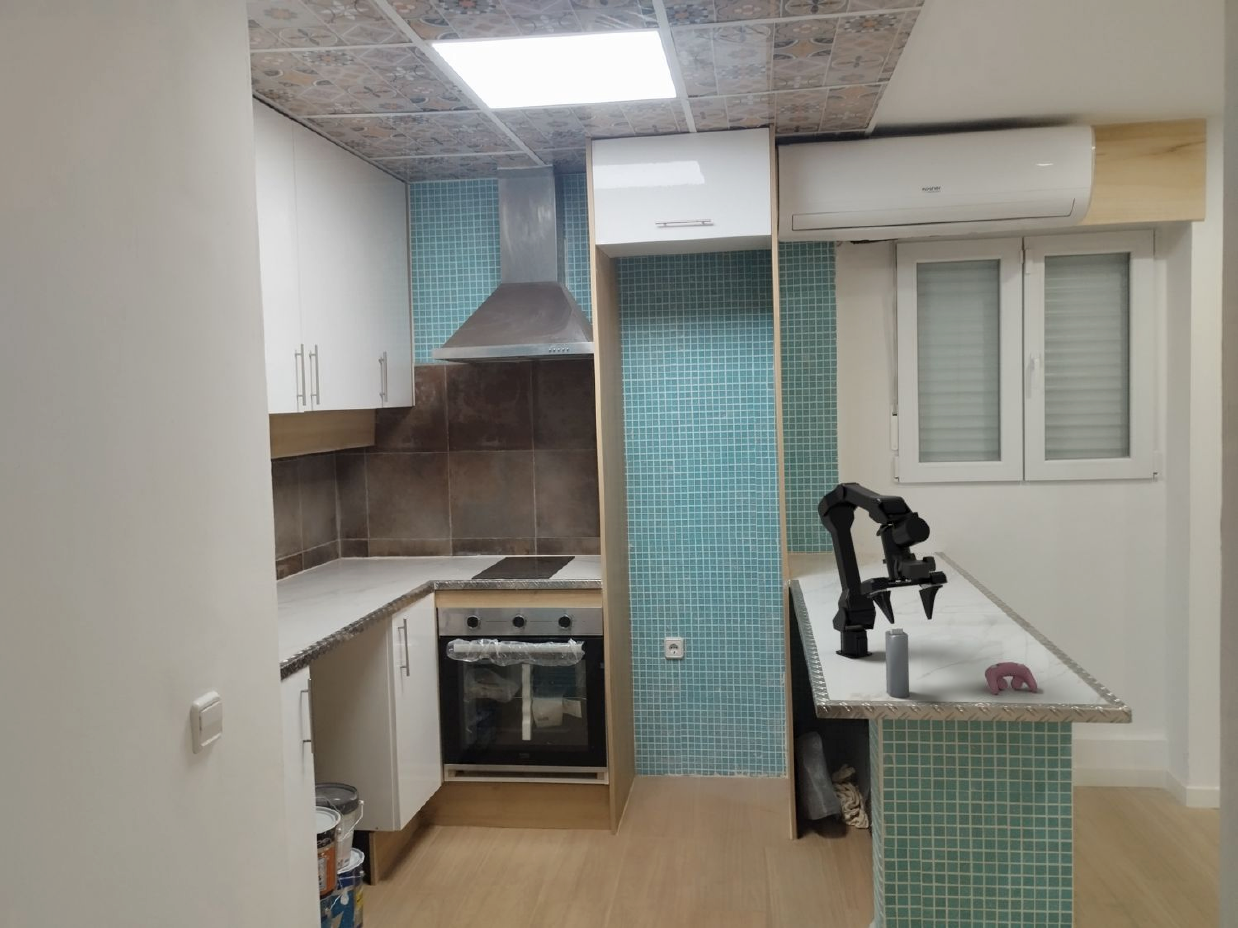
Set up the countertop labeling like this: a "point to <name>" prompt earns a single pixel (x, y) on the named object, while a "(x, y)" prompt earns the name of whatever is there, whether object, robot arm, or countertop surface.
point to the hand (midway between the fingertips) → (911, 621)
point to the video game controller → (1013, 670)
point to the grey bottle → (897, 663)
